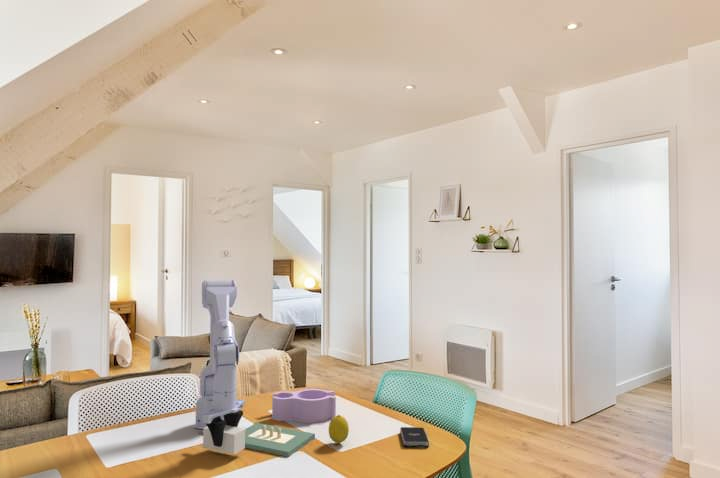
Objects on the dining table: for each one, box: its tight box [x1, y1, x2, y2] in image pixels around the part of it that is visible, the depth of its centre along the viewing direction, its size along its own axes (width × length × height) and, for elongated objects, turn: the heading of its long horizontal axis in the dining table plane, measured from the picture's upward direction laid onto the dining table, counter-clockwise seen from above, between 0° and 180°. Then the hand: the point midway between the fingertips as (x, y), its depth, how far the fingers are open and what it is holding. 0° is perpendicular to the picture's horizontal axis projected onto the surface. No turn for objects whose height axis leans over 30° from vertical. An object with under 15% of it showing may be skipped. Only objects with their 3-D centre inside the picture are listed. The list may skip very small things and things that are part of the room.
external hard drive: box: [399, 426, 430, 449], centre depth 140 cm, size 7×11×2 cm, turn 1°
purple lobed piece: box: [271, 388, 337, 423], centre depth 159 cm, size 20×12×7 cm, turn 97°
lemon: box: [328, 414, 350, 445], centre depth 136 cm, size 6×6×8 cm
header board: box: [244, 422, 316, 458], centre depth 138 cm, size 20×14×4 cm
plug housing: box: [197, 425, 246, 455], centre depth 129 cm, size 13×4×5 cm, turn 66°
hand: (224, 442), depth 128 cm, fingers closed on plug housing, 4 cm apart
